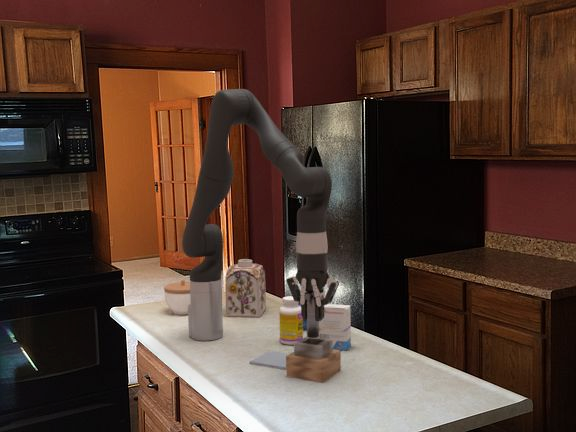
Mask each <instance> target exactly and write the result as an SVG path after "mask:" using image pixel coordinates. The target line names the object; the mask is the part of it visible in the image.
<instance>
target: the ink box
mask: <svg viewBox="0 0 576 432" xmlns="http://www.w3.org/2000/svg"><path fill="white" fill-rule="evenodd" d="M324 315H325V316H324V318H323V319H322V320H321V321H319V338H326V339H332V347H333V349H335V350H341V351H346V352H347V351H348V350H349V349H350V348H351V346H352V344H351V343H352V340H351V339H352V338H351V337H352V336H351V334H352V331H351V330H352V329H351V305H350V304H334V303H332V304H331V303H329V304H327V305H325V306H324Z"/></svg>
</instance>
